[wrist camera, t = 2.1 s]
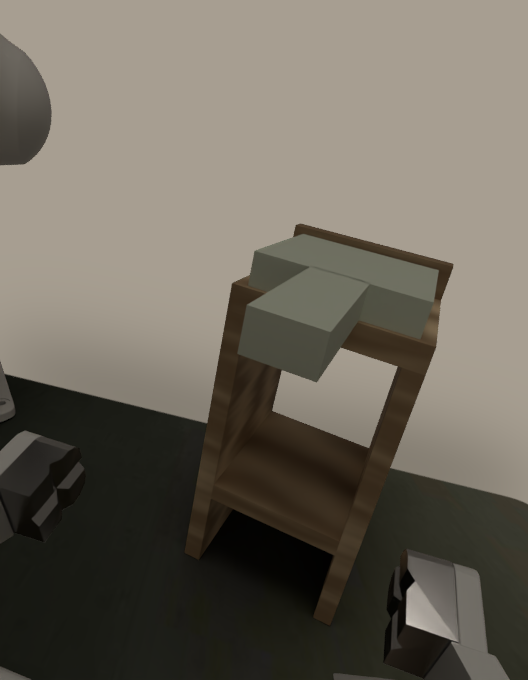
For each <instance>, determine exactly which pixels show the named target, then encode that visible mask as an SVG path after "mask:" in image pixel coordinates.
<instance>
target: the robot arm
mask: <svg viewBox="0 0 528 680" xmlns="http://www.w3.org/2000/svg"><path fill="white" fill-rule="evenodd" d="M50 125H51V104H50V99H49V94H48V91H47V88H46V85H45V83H44V81H43V79H42V76H41V75H40V73H39V71H38V69H37V68H36V66H35V65H34V64H33V62H32V61H31V59H30V58H29V57H28V56H27V55H26V53H25V52H23V51H22V50H21V49H19V48H18V47H16V46H15V45H14V44H12V43H11V42H10V41H8V40H7V39H6V38H5V37H3V36H2V35H1V34H0V165H18V164H25V163H27V162H28V161H30V160H31V159H32V158H33V157H34V156H35V155H37V153H38V152H39V151H40V149H41V148H42V147H43V145H44V143H45V141H46V139H47V137H48V134H49V130H50ZM14 415H15V406H14V403H13V400H12V397H11V393H10V390H9V387H8V384H7V381H6V378H5V375H4V372H3V369H2V365H1V362H0V422H2V421H5V420H7V419H9V418H11V417H13V416H14ZM81 458H82V455H81V451H80V448H77V447H74V446H71V445H68V444H65V443H61V442H58V441H55V440H52V439H49V438H46V437H44V436H40V435H37V434H34V433H31V432H27V431H23V432H21V433H19V434H17V435H16V436H15V437H14V438H13V439H12V440H11V441H10V442H9V443H8V444H7V445H6V446H5V447H4V448H3V449H2V450H1V451H0V543H2V542H3V541H5V540H7V539H8V538H10V537H11V536H13V535H14V533H16V534H19V535H22V536H26V537H29V538H32V539H35V540H38V541H41V542H45V541H46V540H47V538H48V537H49V536H50V534H51V533H52V532H53V530H54V529H55V528H56V526H57V525H58V524H59V523H60V521H61V520H62V510H63V509H65V508H67V507H69V506H71V505H73V504H74V502H75V501H76V500H77V498H78V497H79V495H80V493H81V491H82V489H83V486H84V484H85V477H86V475H85V469H84V468H83V467H82V465H81V464H80V463H79V460H80V459H81ZM387 611H388V613H389V615H390V617H391V620H390V622H389V624H388V626H387V628H386V630H385V644H384V661H383V663H384V664H386V665H389V666H392V667H394V668H397V669H399V670H402V671H404V672H407V673H410V674H412V675H415V676H417V677H420V678H423V679H424V680H510V679H509V678H508V676H507V675H506V673H505V671H504V670H503V668H502V666H501V665H500V663H499V661H498V660H497V658H496V656H493V655H491V654H488V650H487V640H486V631H485V622H484V612H483V603H482V594H481V584H480V576H479V574H478V572H477V571H476V570H475V569H472V568H468V567H465V566H461V565H458V564H454V563H451V562H450V561H447V560H443V559H440V558H436V557H433V556H430V555H426V554H423V553H419V552H416V551H412V550H409V549H405V550H404V551H403V553H402V555H401V558H400V566H399V567H396V568H395V570H394V572H393V574H392V577H391V581H390V585H389V591H388V599H387ZM0 680H31V679H29V678H26V677H24V676H22V675H19V674H17V673H14V672H12V671H10V670H7V669H5V668H2V667H0Z"/></svg>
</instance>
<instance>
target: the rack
mask: <svg viewBox="0 0 528 680" xmlns="http://www.w3.org/2000/svg"><path fill="white" fill-rule="evenodd" d="M301 234H306V235H310V236H313V237H317V238H321V239H324V240H328V241H332V242H336V243H339V244H343V245H347V246H350V247H354V248H358V249H362V250H365V251H369V252H373V253H376V254H380V255H384V256H388V257H391V258H395V259H399V260H403V261H406V262H410V263H414V264H417V265H421V266H425V267H429V268H432V269H436V270H439V272H438V279H437V285H436V291H435V298H434V303H433V306H432V309H431V311H430V314H429V317H428V320H427V322H426V325H425V328H424V331H423V333H422V336H421V339H417V338H414V337H410V336H407V335H404V334H401V333H398V332H394V331H391V330H388V329H385V328H382V327H378V326H375V325H372V324H369V323H366V322H362V321H358V322H357V324H356V325H355V327H354V328H353V330H352V331H351V333H350V334H349V336H348V337H347V339H346V340H345V341H344V343H343V344H342V346H341V348H344V349H347V350H350V351H353V352H356V353H359V354H362V355H365V356H368V357H371V358H374V359H377V360H380V361H383V362H387V363H389V364H392V365H395V366H398V368H397V371H396V373H395V376H394V379H393V382H392V385H391V388H390V390H389V393H388V396H387V399H386V402H385V405H384V408H383V411H382V413H381V416H380V419H379V422H378V425H377V427H376V430H375V434H374V436H373V439H372V442H371V445H370V448H367V447H364V446H361V445H359V444H356V443H354V442H351V441H348V440H346V439H343V438H340V437H338V436H335V435H333V434H330V433H328V432H325V431H322V430H320V429H317V428H315V427H312V426H310V425H307V424H304V423H302V422H299V421H297V420H294V419H291V418H289V417H286V416H284V415H281V414H278V413H276V412H273V411H272V408H273V404H274V400H275V395H276V391H277V387H278V383H279V379H280V375H281V371H282V370H281V369H278V368H275V367H272V366H270V365H267V364H264V363H261V362H259V361H256V360H253V359H250V358H247V357H245V356H242V355H239V354H237V353H238V348H239V342H240V337H241V332H242V327H243V322H244V317H245V311H246V306H247V304H249V303H251V302H252V301H254V300H256V299H257V298H259V297H261V296H262V295H264V294H266V293H267V292H266V291H263V290H260V289H257V288H253V287H250V286H248V283H249V278H250V275H249V276H247V277H245V278H242V279H240V280H238V281H236V282H234V283H232V288H231V293H230V298H229V304H228V310H227V315H226V321H225V327H224V332H223V338H222V344H221V349H220V355H219V361H218V366H217V372H216V377H215V383H214V389H213V394H212V401H211V407H210V412H209V418H208V423H207V428H206V434H205V440H204V445H203V451H202V456H201V462H200V468H199V473H198V479H197V485H196V490H195V496H194V502H193V507H192V513H191V519H190V524H189V530H188V536H187V541H186V547H185V552H184V553H186V554H188V555H190V556H192V557H194V558H196V559H198V560H199V559H200V557H201V556H202V554H203V553H204V551H205V550H206V549H207V547H208V546H209V544H210V543H211V541H212V540H213V538H214V537H215V535H216V534H217V532H218V531H219V529H220V528H221V526H222V525H223V523H224V522H225V520H226V519H227V517H228V516H229V514H230V513H231V511H232V510H233V509H234V510H236V511H239V512H241V513H243V514H245V515H247V516H249V517H252V518H254V519H256V520H258V521H260V522H263V523H265V524H267V525H269V526H271V527H273V528H276V529H278V530H280V531H282V532H284V533H286V534H289V535H291V536H293V537H295V538H297V539H300V540H302V541H304V542H306V543H308V544H310V545H313V546H315V547H317V548H319V549H321V550H324V551H326V552H328V553H330V554H332V555H333V557H332V560H331V563H330V566H329V569H328V572H327V575H326V578H325V582H324V585H323V588H322V591H321V594H320V597H319V600H318V603H317V606H316V610H315V613H314V616H313V618H315V619H317V620H319V621H321V622H323V623H325V624H327V625H329V626H330V624H331V622H332V619H333V616H334V614H335V611H336V609H337V606H338V603H339V601H340V598H341V595H342V593H343V590H344V588H345V585H346V582H347V580H348V577H349V574H350V572H351V569H352V567H353V564H354V561H355V559H356V556H357V553H358V551H359V548H360V546H361V543H362V540H363V538H364V535H365V532H366V530H367V527H368V525H369V522H370V519H371V517H372V514H373V511H374V509H375V506H376V504H377V501H378V498H379V496H380V493H381V490H382V488H383V485H384V483H385V480H386V477H387V475H388V472H389V469H390V467H391V464H392V462H393V459H394V456H395V454H396V451H397V448H398V446H399V443H400V440H401V438H402V435H403V433H404V430H405V427H406V425H407V422H408V419H409V417H410V414H411V412H412V409H413V406H414V404H415V401H416V399H417V396H418V393H419V390H420V388H421V385H422V383H423V380H424V377H425V375H426V372H427V370H428V367H429V364H430V362H431V359H432V357H433V354H434V351H435V348H436V343H437V333H438V324H439V314H440V304H441V299H442V296H443V293H444V291H445V288H446V285H447V283H448V280H449V277H450V274H451V271H452V269H453V264H452V263H448V262H444V261H440V260H436V259H433V258H429V257H425V256H421V255H417V254H414V253H410V252H406V251H402V250H399V249H395V248H391V247H387V246H383V245H380V244H375V243H372V242H368V241H364V240H360V239H357V238H353V237H349V236H345V235H342V234H338V233H334V232H330V231H326V230H323V229H319V228H315V227H311V226H307V225H304V224H298V225H296V227H295V231H294V236H293V237H296V236H299V235H301Z"/></svg>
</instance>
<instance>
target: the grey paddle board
mask: <svg viewBox="0 0 528 680" xmlns="http://www.w3.org/2000/svg"><path fill="white" fill-rule="evenodd" d="M438 272H439V270H436V269H432V268H429V267H425V266H421V265H417V264H414V263H410V262H406V261H403V260H399V259H395V258H391V257H388V256H384V255H380V254H376V253H373V252H369V251H365V250H362V249H358V248H354V247H350V246H347V245H343V244H339V243H336V242H332V241H328V240H324V239H321V238H317V237H313V236H310V235H306V234H301V235H299V236H296V237H293V238H290V239H287V240H284V241H282V242H279V243H276V244H273V245H270V246H267V247H264V248H262V249H259V250H256V251H255V252H254V258H253V263H252V268H251V273H250V278H249V283H248V286H250V287H253V288H257V289H260V290H263V291H266V292H267V293H266V294H264V295H262V296H261V297H259V298H257V299H256V300H254V301H252V302H251V303H249V304H247V306H246V311H245V317H244V322H243V327H242V332H241V337H240V342H239V348H238V353H237V354H239V355H242V356H245V357H247V358H250V359H253V360H256V361H259V362H261V363H264V364H267V365H270V366H272V367H275V368H278V369H281V370H284V371H286V372H289V373H292V374H295V375H298V376H301V377H303V378H306V379H309V380H312V381H314V382H317V381H318V380H319V378H320V377H321V375H322V374H323V372H324V371H325V369H326V368H327V366H328V365H329V363H330V362H331V361H332V359H333V357H334V356H335V355H336V353H337V351H338V350H339V349H340V347H341V346H342V344H343V343H344V341H345V340H346V339H347V337H348V336H349V334H350V333H351V331H352V330H353V328H354V327H355V325H356V324H357V322H358V321H362V322H366V323H369V324H372V325H375V326H378V327H382V328H385V329H388V330H391V331H394V332H398V333H401V334H404V335H407V336H410V337H414V338H417V339H421V336H422V333H423V331H424V328H425V325H426V322H427V320H428V317H429V314H430V311H431V309H432V306H433V303H434V298H435V291H436V285H437V279H438Z"/></svg>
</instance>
